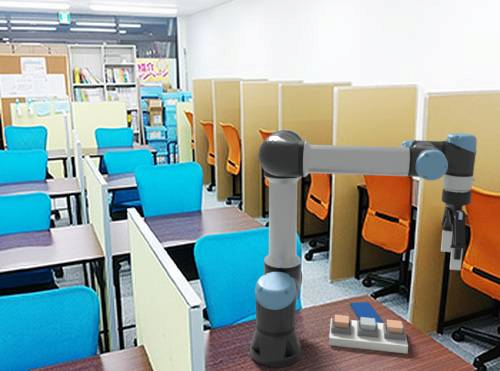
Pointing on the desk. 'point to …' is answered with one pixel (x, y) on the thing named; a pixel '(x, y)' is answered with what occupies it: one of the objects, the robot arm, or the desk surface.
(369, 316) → the smartphone
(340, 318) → the left key
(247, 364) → the desk surface
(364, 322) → the middle key
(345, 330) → the white button panel
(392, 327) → the right key
